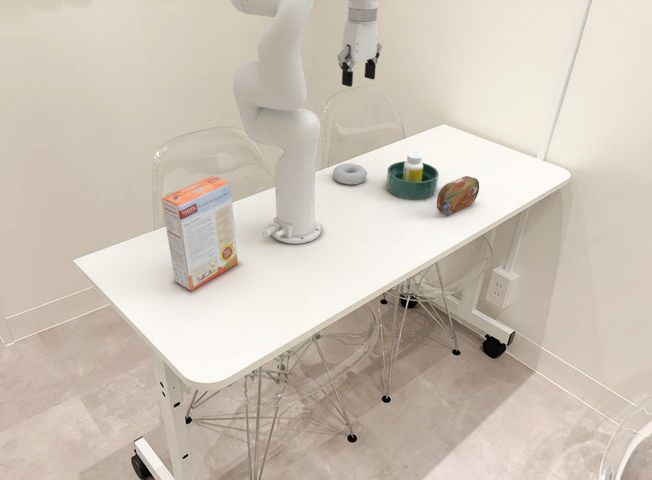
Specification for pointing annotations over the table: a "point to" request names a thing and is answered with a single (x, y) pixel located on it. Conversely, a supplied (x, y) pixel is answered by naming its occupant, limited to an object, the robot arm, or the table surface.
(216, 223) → the cracker box
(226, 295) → the table surface
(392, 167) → the teal round bowl
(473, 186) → the tin
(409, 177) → the supplement bottle
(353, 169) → the donut
